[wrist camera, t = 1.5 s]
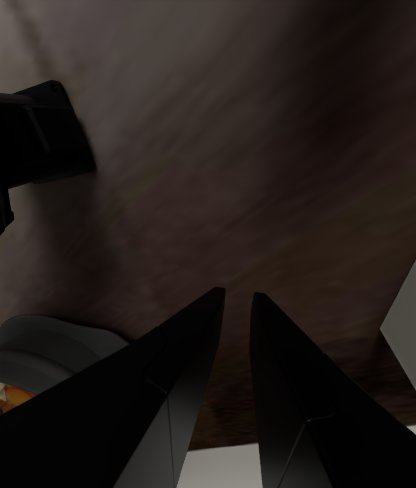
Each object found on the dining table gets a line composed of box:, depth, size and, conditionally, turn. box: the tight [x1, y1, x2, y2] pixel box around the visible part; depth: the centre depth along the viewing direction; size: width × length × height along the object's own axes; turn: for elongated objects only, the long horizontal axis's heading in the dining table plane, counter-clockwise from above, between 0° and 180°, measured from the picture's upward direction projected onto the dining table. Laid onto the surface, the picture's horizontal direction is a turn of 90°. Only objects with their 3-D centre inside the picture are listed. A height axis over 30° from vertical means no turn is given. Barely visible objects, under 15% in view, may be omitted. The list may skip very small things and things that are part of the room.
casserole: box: [0, 314, 129, 415], centre depth 30 cm, size 25×19×8 cm
